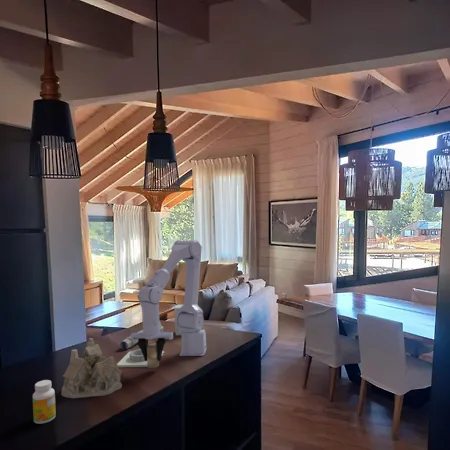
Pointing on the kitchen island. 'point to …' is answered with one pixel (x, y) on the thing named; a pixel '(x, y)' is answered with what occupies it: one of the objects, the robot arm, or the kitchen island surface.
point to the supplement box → (176, 310)
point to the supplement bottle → (44, 402)
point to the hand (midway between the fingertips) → (153, 359)
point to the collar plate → (130, 363)
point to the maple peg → (152, 356)
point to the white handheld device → (129, 343)
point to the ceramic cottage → (91, 374)
